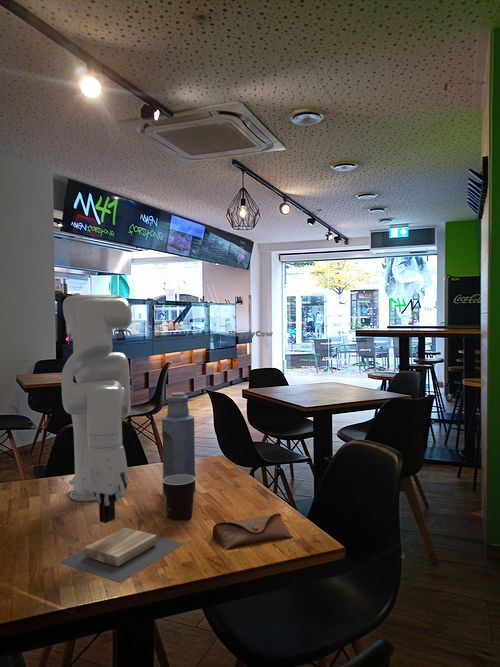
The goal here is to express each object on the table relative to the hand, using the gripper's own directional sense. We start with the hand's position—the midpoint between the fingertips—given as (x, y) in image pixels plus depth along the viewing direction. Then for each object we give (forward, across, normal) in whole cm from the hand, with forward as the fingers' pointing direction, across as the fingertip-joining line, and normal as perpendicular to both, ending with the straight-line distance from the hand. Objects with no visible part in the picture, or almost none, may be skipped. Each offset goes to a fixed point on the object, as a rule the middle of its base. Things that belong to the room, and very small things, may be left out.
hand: (107, 520), depth 114 cm
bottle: (+7, -10, +38) cm, 40 cm away
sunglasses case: (+7, +26, +21) cm, 34 cm away
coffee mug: (+7, +2, +24) cm, 25 cm away
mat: (+7, +5, 0) cm, 8 cm away
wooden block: (+5, -1, 0) cm, 5 cm away
